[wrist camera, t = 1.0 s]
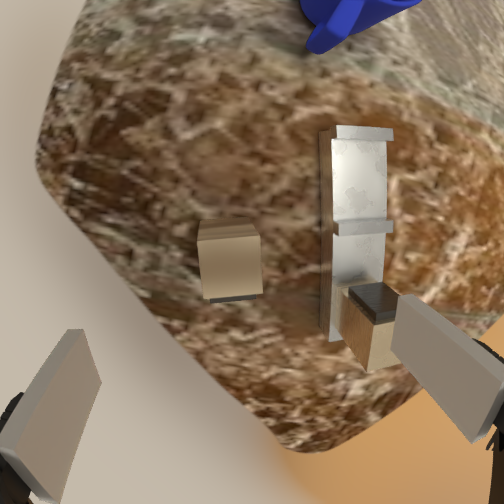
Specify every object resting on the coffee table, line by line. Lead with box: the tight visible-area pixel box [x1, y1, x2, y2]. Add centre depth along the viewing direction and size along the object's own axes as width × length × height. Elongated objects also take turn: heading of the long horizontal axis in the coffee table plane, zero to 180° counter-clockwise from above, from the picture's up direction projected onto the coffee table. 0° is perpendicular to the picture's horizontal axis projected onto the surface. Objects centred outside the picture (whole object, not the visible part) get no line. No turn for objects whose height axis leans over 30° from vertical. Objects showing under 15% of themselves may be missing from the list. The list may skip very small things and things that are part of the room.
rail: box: [318, 125, 402, 372], centre depth 24 cm, size 19×5×10 cm, turn 3°
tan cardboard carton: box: [197, 217, 263, 303], centre depth 24 cm, size 5×4×7 cm
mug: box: [300, 0, 422, 54], centre depth 18 cm, size 8×12×10 cm
